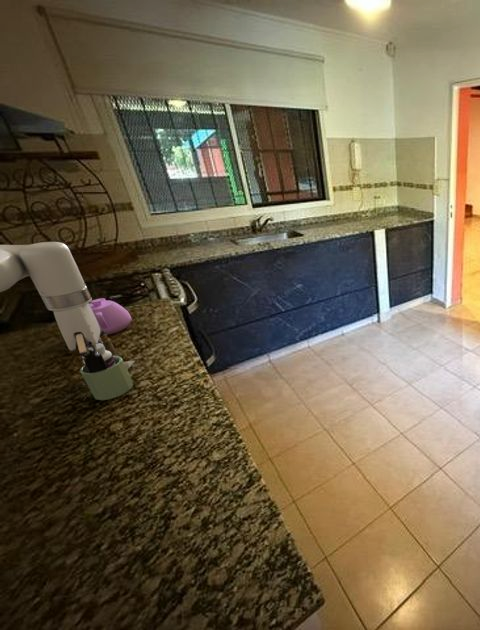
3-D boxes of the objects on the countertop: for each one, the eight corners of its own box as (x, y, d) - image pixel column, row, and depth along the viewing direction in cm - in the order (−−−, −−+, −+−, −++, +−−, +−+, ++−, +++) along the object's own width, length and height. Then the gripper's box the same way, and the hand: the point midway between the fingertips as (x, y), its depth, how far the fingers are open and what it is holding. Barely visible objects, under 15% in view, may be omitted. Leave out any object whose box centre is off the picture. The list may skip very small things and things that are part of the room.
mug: (91, 404, 84) (77, 378, 80) (95, 387, 90) (82, 362, 86) (132, 392, 88) (120, 366, 84) (133, 376, 94) (122, 352, 90)
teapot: (132, 312, 130) (121, 286, 125) (134, 332, 116) (122, 303, 111) (83, 322, 122) (70, 295, 118) (80, 345, 108) (64, 315, 104)
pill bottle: (103, 388, 84) (86, 355, 80) (89, 383, 86) (72, 351, 82) (126, 375, 89) (112, 343, 85) (112, 371, 90) (97, 340, 86)
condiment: (102, 364, 99) (84, 328, 94) (135, 360, 101) (119, 325, 96) (87, 380, 93) (66, 342, 87) (123, 375, 95) (105, 337, 89)
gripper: (52, 289, 82) (85, 354, 90) (35, 316, 69) (75, 387, 77) (93, 283, 85) (121, 345, 93) (84, 307, 73) (117, 376, 81)
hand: (100, 363), depth 85 cm, fingers closed on pill bottle, 5 cm apart
